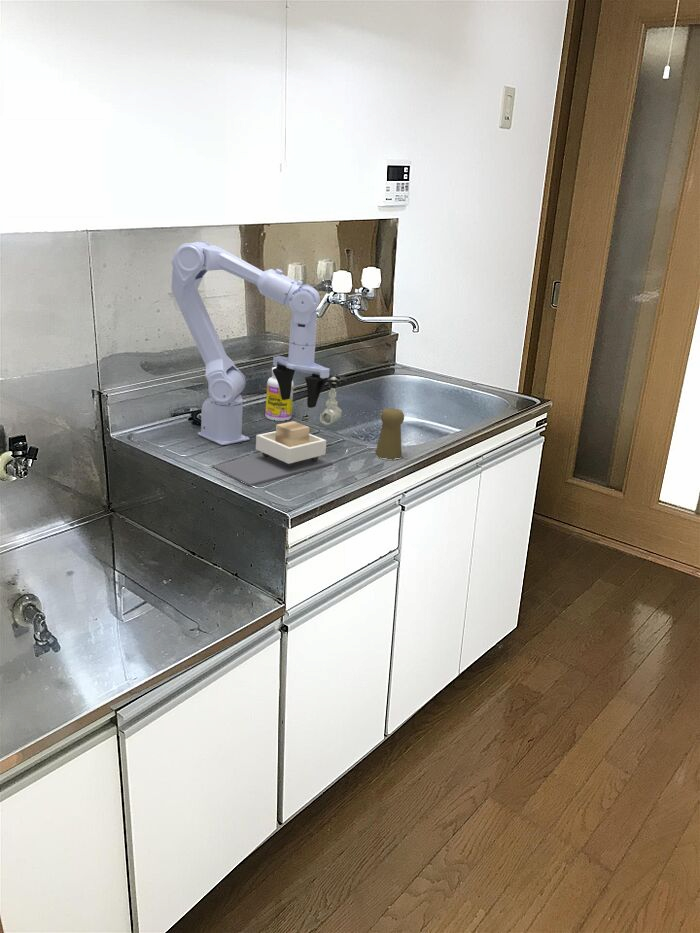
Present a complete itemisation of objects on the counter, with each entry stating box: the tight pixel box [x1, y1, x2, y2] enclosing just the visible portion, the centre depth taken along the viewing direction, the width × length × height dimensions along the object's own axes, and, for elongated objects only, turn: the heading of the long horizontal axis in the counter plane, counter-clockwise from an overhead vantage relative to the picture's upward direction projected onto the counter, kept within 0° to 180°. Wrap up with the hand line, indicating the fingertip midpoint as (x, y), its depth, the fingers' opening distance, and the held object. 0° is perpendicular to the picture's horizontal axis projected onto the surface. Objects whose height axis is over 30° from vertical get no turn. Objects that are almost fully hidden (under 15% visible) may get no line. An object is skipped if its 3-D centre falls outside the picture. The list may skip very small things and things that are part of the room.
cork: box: [375, 407, 405, 459], centre depth 176 cm, size 6×6×11 cm
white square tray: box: [255, 430, 328, 468], centre depth 167 cm, size 11×11×5 cm
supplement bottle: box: [265, 366, 294, 422], centre depth 196 cm, size 7×7×13 cm
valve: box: [319, 373, 347, 427], centre depth 195 cm, size 7×7×12 cm
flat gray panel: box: [212, 454, 333, 487], centre depth 165 cm, size 12×23×1 cm, turn 136°
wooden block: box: [275, 420, 310, 447], centre depth 166 cm, size 5×5×5 cm
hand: (298, 403), depth 174 cm, fingers open, 7 cm apart
